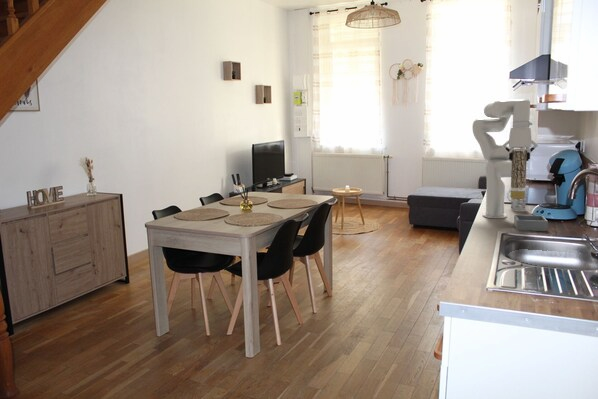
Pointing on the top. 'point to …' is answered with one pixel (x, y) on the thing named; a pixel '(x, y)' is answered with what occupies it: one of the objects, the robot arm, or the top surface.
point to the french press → (513, 203)
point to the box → (530, 222)
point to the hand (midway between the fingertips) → (519, 160)
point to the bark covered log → (518, 173)
